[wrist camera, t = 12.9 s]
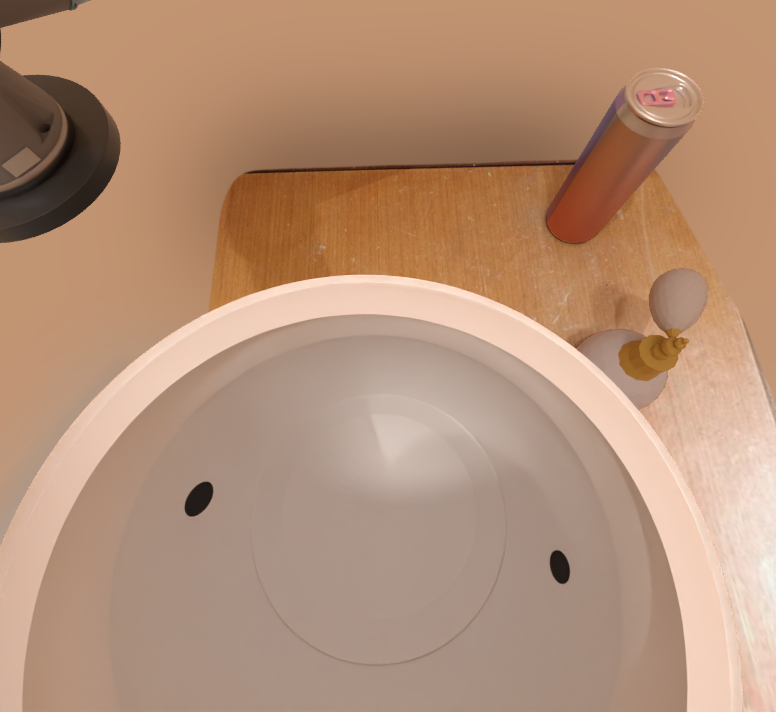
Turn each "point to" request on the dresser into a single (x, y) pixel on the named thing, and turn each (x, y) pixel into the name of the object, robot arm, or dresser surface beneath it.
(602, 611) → the jar
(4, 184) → the robot arm
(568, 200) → the beverage can
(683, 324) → the perfume bottle
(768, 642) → the dresser surface
